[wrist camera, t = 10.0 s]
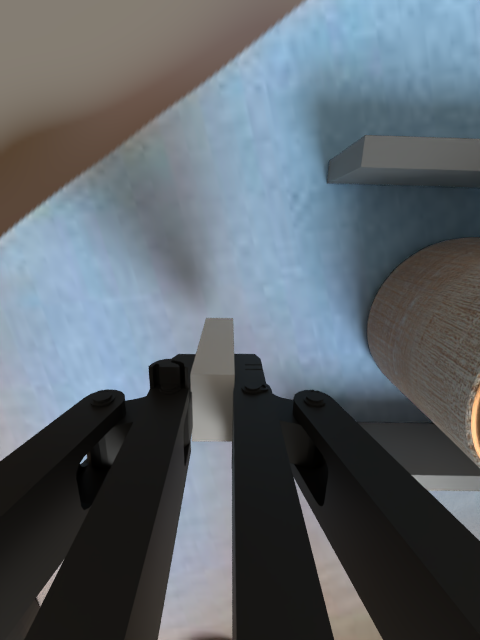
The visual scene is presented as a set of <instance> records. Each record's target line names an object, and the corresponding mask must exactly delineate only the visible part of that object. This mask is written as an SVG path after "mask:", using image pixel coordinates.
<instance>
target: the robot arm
mask: <svg viewBox="0 0 480 640" xmlns="http://www.w3.org/2000/svg"><path fill="white" fill-rule="evenodd" d="M149 379H150V390H149V392H148V394H147V396H145V397H143V398H138V399H133V400H127V401H125V395H124V394H123V393H122V392H121V391H117V390H101V391H98V392H95V393H92V394H90V395H88V396H87V397H85V398H83V399H82V400H81V401H80V402H78V403H77V404H76V405H74V406H73V407H72V408H70V409H69V410H68V411H66V412H65V413H64V414H62V415H61V416H60V417H58V418H57V419H56V420H54V421H53V422H52V423H50V424H49V425H48V426H46V427H45V428H44V429H42V430H41V431H40V432H39V433H37V434H36V435H35V436H33V437H32V438H31V439H29V440H28V441H27V442H25V443H24V444H23V445H21V446H20V447H19V448H17V449H16V450H15V451H13V452H12V453H11V454H9V455H8V456H7V457H5V458H4V459H3V460H2V461H0V640H158V634H159V629H160V623H161V617H162V612H163V606H164V600H165V595H166V589H167V583H168V578H169V572H170V566H171V561H172V555H173V549H174V544H175V538H176V533H177V527H178V521H179V516H180V510H181V504H182V499H183V493H184V487H185V482H186V476H187V470H188V465H189V459H190V453H191V442H190V439H191V434H192V441H232V635H233V640H334V637H333V633H332V629H331V625H330V621H329V617H328V613H327V609H326V605H325V601H324V597H323V593H322V590H321V586H320V582H319V578H318V574H317V570H316V566H315V562H314V558H313V554H312V550H311V546H310V542H309V538H308V534H307V530H306V526H305V522H304V518H303V514H302V510H301V506H300V502H299V498H298V494H297V490H296V486H295V482H294V479H295V480H296V482H297V484H298V486H299V488H300V489H301V491H302V493H303V495H304V497H305V499H306V500H307V502H308V504H309V506H310V508H311V509H312V511H313V513H314V515H315V517H316V519H317V520H318V522H319V524H320V526H321V528H322V529H323V531H324V533H325V535H326V537H327V539H328V540H329V542H330V544H331V546H332V548H333V549H334V551H335V553H336V555H337V557H338V559H339V560H340V562H341V564H342V566H343V568H344V569H345V571H346V573H347V575H348V577H349V579H350V580H351V582H352V584H353V586H354V588H355V589H356V591H357V593H358V595H359V597H360V599H361V600H362V602H363V604H364V606H365V608H366V609H367V611H368V613H369V615H370V617H371V619H372V620H373V622H374V624H375V626H376V628H377V629H378V631H379V633H380V635H381V637H382V639H383V640H480V541H479V540H478V539H477V538H476V537H475V536H474V535H473V534H472V533H471V532H470V531H469V530H468V529H467V528H466V527H465V526H464V525H463V524H461V523H460V522H459V521H458V520H457V519H456V518H455V517H454V516H453V515H452V514H451V513H450V512H449V511H448V510H447V509H446V508H445V507H444V506H443V505H442V504H441V503H440V502H439V501H438V500H437V499H436V498H435V497H434V496H433V495H432V494H431V493H429V492H428V491H427V490H426V489H425V488H424V487H423V486H422V485H421V484H420V483H419V482H418V481H417V480H416V479H415V478H414V477H413V476H412V475H411V474H410V473H409V472H408V471H407V470H406V469H405V468H404V467H403V466H402V465H401V464H400V463H399V462H398V461H396V460H395V459H394V458H393V457H392V456H391V455H390V454H389V453H388V452H387V451H386V450H385V449H384V448H383V447H382V446H381V445H380V444H379V443H378V442H377V441H376V440H375V439H374V438H373V437H372V436H371V435H370V434H369V433H368V432H367V431H366V430H364V429H363V428H362V427H361V426H360V425H359V424H358V423H357V422H356V421H355V420H354V419H353V418H352V417H351V416H350V415H349V414H348V413H347V412H346V411H345V410H344V409H343V408H342V407H341V406H340V405H339V404H338V403H337V402H336V401H335V400H334V399H333V398H331V397H330V396H328V395H327V394H325V393H322V392H320V391H315V390H304V391H300V392H298V393H297V394H295V396H294V400H289V399H285V398H281V397H278V396H276V395H274V394H272V390H271V388H270V386H269V385H267V384H266V381H265V377H264V372H263V368H262V364H261V359H260V358H259V357H258V356H256V355H255V354H234V332H233V318H206V320H205V324H204V327H203V331H202V334H201V338H200V341H199V345H198V349H197V352H196V354H178V355H176V356H175V357H173V358H172V359H164V360H159V361H156V362H154V363H152V364H151V365H150V366H149ZM86 454H87V459H86V460H85V461H84V462H83V463H82V464H80V462H81V460H82V459H83V458H84V456H85V455H86ZM293 477H294V478H293ZM63 560H64V561H63ZM62 561H63V563H62ZM61 563H62V565H61V567H60V569H59V571H58V573H57V575H56V577H55V579H54V581H53V583H52V585H51V587H50V589H49V591H48V593H47V595H46V597H45V599H44V601H43V603H42V605H41V607H40V608H39V605H38V603H37V601H36V600H35V598H36V597H37V596H38V594H39V593H40V591H41V590H42V589H43V587H44V586H45V585H46V583H47V582H48V581H49V579H50V578H51V576H52V575H53V574H54V572H55V571H56V570H57V568H58V567H59V565H60V564H61Z"/></svg>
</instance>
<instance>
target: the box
mask: <svg viewBox="0 0 480 640" xmlns="http://www.w3.org/2000/svg"><path fill="white" fill-rule="evenodd" d="M327 183H328V184H361V185H395V186H428V187H461V188H480V139H467V138H436V137H406V136H375V135H365V136H364V137H362V138H361V139H359V140H358V141H357V142H355V143H354V144H352V145H351V146H350V147H348V148H347V149H345V150H344V151H342V152H341V153H340V154H338V155H337V156H335V157H334V158H333V159H331V160H330V161H329V168H328V178H327ZM357 423H358V424H359V425H360V426H361V427H362V428H363V429H364V430H366V431H367V432H368V433H369V434H370V435H371V436H372V437H373V438H374V439H375V440H376V441H377V442H378V443H379V444H380V445H381V446H382V447H383V448H384V449H385V450H386V451H387V452H388V453H389V454H390V455H391V456H392V457H393V458H394V459H395V460H396V461H398V462H399V463H400V464H401V465H402V466H403V467H404V468H405V469H406V470H407V471H408V472H409V473H410V474H411V475H412V476H413V477H414V478H415V479H416V480H417V481H418V482H419V483H420V484H421V485H422V486H423V487H424V488H425V489H426V490H428V491H480V468H479V467H478V466H477V465H476V464H475V463H474V462H473V461H472V460H471V459H470V458H469V457H468V456H467V455H466V454H465V453H464V452H463V451H462V450H461V449H460V448H459V447H458V446H457V445H456V444H455V443H454V442H453V441H452V440H451V439H450V438H449V437H448V436H447V435H446V434H445V433H444V432H443V431H441V430H440V429H439V428H438V427H437V426H436V425H435V424H433V423H373V422H357Z"/></svg>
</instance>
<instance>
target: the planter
mask: <svg viewBox="0 0 480 640" xmlns="http://www.w3.org/2000/svg"><path fill="white" fill-rule="evenodd" d="M367 340H368V345H369V349H370V352H371V355H372V357H373V359H374V361H375V362H376V364H377V366H378V367H379V369H380V370H381V372H382V373H383V374H384V375H385V376H386V377H387V378H388V379H389V380H390V381H391V382H392V383H393V384H394V385H395V386H396V387H397V388H398V389H399V390H400V391H401V392H402V393H403V394H404V395H405V396H406V397H407V398H408V399H409V400H410V401H411V402H413V403H414V404H415V405H416V406H417V407H418V408H419V409H420V410H421V411H422V412H423V413H424V414H425V415H426V416H427V417H428V418H429V419H430V420H431V421H432V422H433V423H434V424H435V425H436V426H437V427H438V428H439V429H440V430H441V431H443V432H444V433H445V434H446V435H447V436H448V437H449V438H450V439H451V440H452V441H453V442H454V443H455V444H456V445H457V446H458V447H459V448H460V449H461V450H462V451H463V452H464V453H465V454H466V455H467V456H468V457H469V458H470V459H471V460H472V461H473V462H474V463H475V464H476V465H477V466H478V467H479V468H480V237H466V238H458V239H451V240H446V241H442V242H439V243H436V244H433V245H430V246H428V247H426V248H424V249H422V250H420V251H418V252H417V253H415V254H413V255H412V256H410V257H409V258H408V259H406V260H405V261H404V262H402V263H401V264H400V265H399V266H398V267H397V268H396V269H395V270H394V271H393V272H392V273H391V274H390V275H389V276H388V278H387V279H386V280H385V281H384V283H383V284H382V286H381V287H380V289H379V291H378V292H377V294H376V296H375V298H374V301H373V303H372V306H371V309H370V312H369V316H368V323H367Z"/></svg>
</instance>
